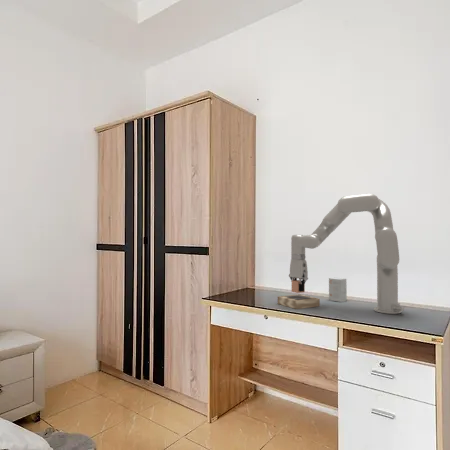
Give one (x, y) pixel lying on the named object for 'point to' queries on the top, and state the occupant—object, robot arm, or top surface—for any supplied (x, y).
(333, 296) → the small box
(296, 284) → the terracotta block
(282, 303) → the square wooden tray
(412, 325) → the top surface
